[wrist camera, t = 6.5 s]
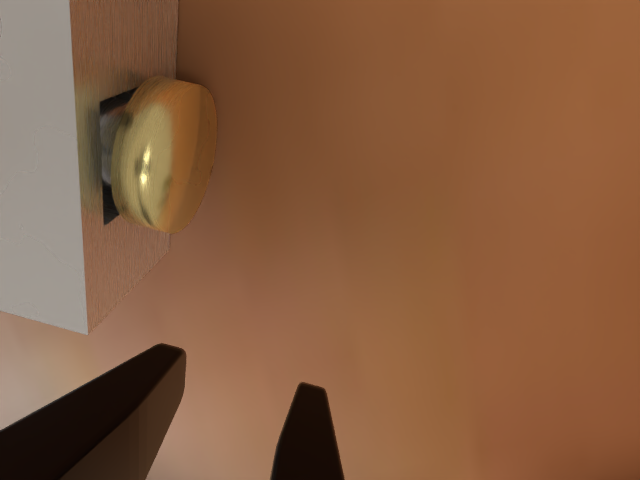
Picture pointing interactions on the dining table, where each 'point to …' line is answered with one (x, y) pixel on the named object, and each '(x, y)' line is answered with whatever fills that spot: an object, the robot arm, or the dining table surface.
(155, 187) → the lynch pin
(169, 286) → the dining table surface
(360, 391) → the dining table surface
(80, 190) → the block
